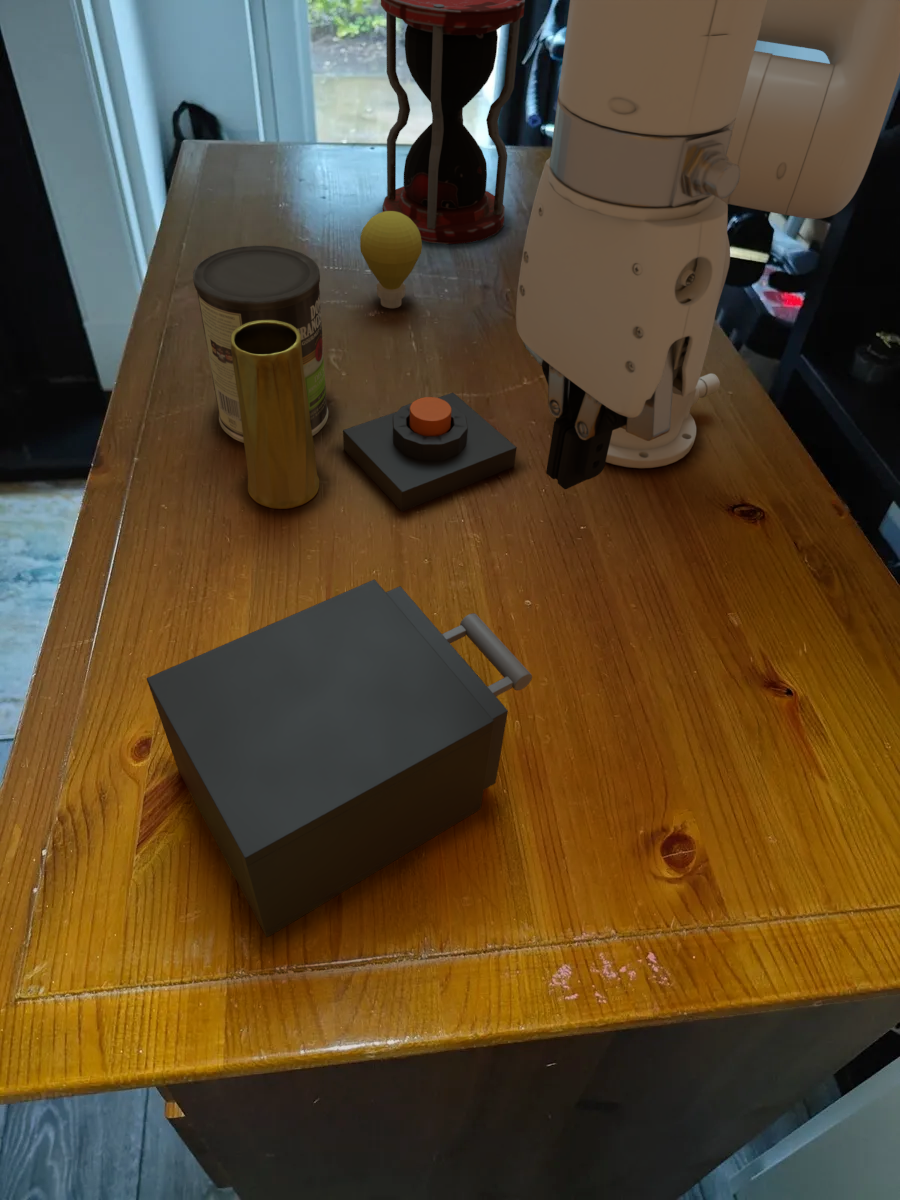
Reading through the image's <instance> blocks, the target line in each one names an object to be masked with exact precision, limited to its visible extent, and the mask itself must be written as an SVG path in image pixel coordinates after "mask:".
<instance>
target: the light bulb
mask: <svg viewBox="0 0 900 1200" xmlns="http://www.w3.org/2000/svg"><path fill="white" fill-rule="evenodd" d="M359 238H360V239H359V248H360V253H361V255H362V257H363V259H364V260H365V263H366V265H367V267H368V268H369V270H370V271H371V273H372V275H373V276H374V277H375V278H376V280H377V284H376V295H377V297H378V298H379V299H380V305H381V306H382V307H384V308H387V309H396V308H399V307H401V306H402V301H403V300H402V299H403V298H404V297H405V296H406V284H405V283H404V282H405V281H406V279H407V278H408V277H409V275H410V274H411V273H412V271H413V270H414V268H415V266H416V265H417V263H418V260H419V258H420V256H421V254H422V253H423V252H422V251H423V241H421V235H420V232H419V230H418V228H417V226H416V225H415V224H414V222H413V221H412V220H411V219H410V218H409V217H407V216H406V215H404V214H402V213H399V212H395V211H385V212H383V211H381V212H378V213H377V214H375V215H373V216H372V217H370V219H368V221H367V222H366V224H365V225H364V226H363V228H362V231H361V233H360V237H359Z"/></svg>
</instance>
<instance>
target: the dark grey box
mask: <svg viewBox="0 0 900 1200" xmlns="http://www.w3.org/2000/svg"><path fill="white" fill-rule="evenodd" d="M386 592H387V591H385V589H383V587H382V586H381V585H380V583H379V582H378V581H377V580H376V579H371V580H370V581H367V582H365V583H362V584H360V585H357V586H356V587H353V588H350V589H349V590H346V591H344V592H341V593H340V594H337V595H335V596H332V597H331V598H328V599H325V600H324V601H321V602H319V603H317V604H313V605H312V606H310V607H307V608H305V609H303V610H300V611H298V612H296V613H293V614H291V615H288V616H286V617H284V618H282V619H279V620H277V621H275V622H273V623H270V624H268V625H266V626H264V627H261V628H259V629H256V630H254V631H251V632H249V633H247V634H245V635H242V636H240V637H238V638H236V639H234V640H231V641H229V642H227V643H224V644H222V645H219V646H217V647H215V648H213V649H211V650H208V651H206V652H203V653H201V654H199V655H197V656H196V655H195V656H193V657H192V658H190V659H187V660H185V661H183V662H181V663H178V664H176V665H173V666H171V667H168V668H166V669H164V670H162V671H160V672H158V673H155V674H153V675H150V676H148V677H146V681H147V684H148V687H149V691H150V693H151V696H152V699H153V701H154V705H155V707H156V710H157V713H158V716H159V719H160V722H161V725H162V727H163V731H164V733H165V736H166V739H167V742H168V745H169V748H170V750H171V754H172V756H173V759H174V762H175V765H176V767H177V770H178V773H179V775H180V777H181V779H182V781H183V782H184V784H185V786H186V788H187V790H188V792H189V793H190V795H191V797H192V799H193V801H194V803H195V805H196V807H197V809H198V811H199V812H200V814H201V817H202V818H203V820H204V822H205V824H206V826H207V828H208V830H209V831H210V833H211V835H212V837H213V839H214V841H215V843H216V845H217V846H218V849H219V850H220V852H221V854H222V856H223V858H224V860H225V861H226V864H227V865H228V868H229V869H230V871H231V873H232V875H233V877H234V879H235V881H236V882H237V884H238V887H239V888H240V890H241V892H242V894H243V896H244V897H245V899H246V901H247V903H248V905H249V907H250V909H251V911H252V913H253V914H254V916H255V918H256V920H257V922H258V924H259V926H260V928H261V929H262V931H263V933H264V935H265V937H266V938H269V937H270V936H273V935H274V934H275V933H277V932H279V931H281V930H282V929H284V928H285V927H287V926H289V925H290V924H292V923H294V922H295V921H297V920H298V919H300V918H302V917H303V916H305V915H307V914H309V913H310V912H312V911H314V910H315V909H317V908H318V907H320V906H322V905H324V904H325V903H327V902H329V901H330V900H332V899H333V898H335V897H338V896H339V895H341V894H342V893H343V892H345V891H347V890H349V889H350V888H352V887H353V886H355V885H357V884H359V883H360V882H362V881H363V880H365V879H367V878H368V877H370V876H372V875H374V874H376V872H377V873H378V871H380V870H382V869H383V868H386V866H389V865H391V864H392V863H393V862H396V861H397V860H399V859H400V858H403V856H405V855H407V854H408V853H410V852H412V851H414V850H415V849H417V848H419V847H420V846H422V845H423V844H425V843H427V842H429V841H430V840H432V839H433V838H435V837H437V836H438V835H440V834H441V833H444V832H445V831H446V830H448V829H450V828H451V827H453V826H455V825H457V824H458V823H460V822H461V821H463V820H465V819H467V818H469V817H470V816H472V815H473V814H475V813H476V812H478V811H480V810H481V808H482V802H483V797H484V791H485V790H484V783H485V777H486V771H487V764H488V758H489V751H490V745H491V738H492V732H493V725H494V720H493V719H492V718H491V716H490V715H489V714H488V713H487V712H486V711H485V709H484V708H483V707H482V706H481V705H480V703H479V702H478V701H477V700H476V699H475V698H474V696H473V695H472V694H471V693H470V692H469V690H468V689H467V688H466V687H465V686H464V684H463V683H462V682H461V681H460V680H459V679H458V677H457V676H456V675H455V674H454V673H453V671H452V670H451V669H450V668H449V667H448V666H447V664H446V663H445V662H444V661H443V660H442V658H441V657H440V656H439V655H438V654H437V652H436V651H435V650H434V649H433V648H432V647H431V645H430V644H429V643H428V642H427V641H426V639H425V638H424V637H423V636H422V635H421V634H420V632H419V631H418V630H417V629H416V628H415V626H414V625H413V624H412V623H411V622H410V621H409V619H408V618H407V617H406V616H405V615H404V613H403V612H402V611H401V610H400V609H399V607H398V606H397V605H396V604H395V603H394V602H393V600H392V599H391V598H390V597H389V596H388V594H387V593H386Z"/></svg>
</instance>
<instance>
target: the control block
mask: <svg viewBox="0 0 900 1200" xmlns="http://www.w3.org/2000/svg"><path fill="white" fill-rule="evenodd" d="M437 398H439V399H442V400H444V401H446V402H447V403H448V404H449V405H450V407H451V426H450V429H449V431H448V432H447V433H445V434H442V435H439V436H423V435H420V434H417V433H414V432H413V431H412V430H411V428H410V406H411V404H412V403H413V402H411V403H408V404H404V405H402V406H401V407H400V408H399V409H398V410H397V411H395V412H392V413H388V414H386V415H383V416H380V417H377V418H375V419H371V420H369V421H365V422H362V423H360V424H356V425H354V426H351V427H348V428H345V429H343V430H342V442H343V451H344V452H345V453H346V454H347V455H348V456H349V457H350V458H351V459H352V460H353V461H354V462H355V463H356V465H357V466H358V467H359V468H360V469H361V470H362V471H363V472H364V473H365V474H366V475H367V476H368V477H369V478H370V480H371V481H372V482H374V484H376V486H377V487H378V488H379V489H380V490H381V491H382V492H383V493H384V494H385V495H386V496H387V497H388V499H389V500H390V501H391V502H392V503H393V504H394V505H395V506H396V507H397V508H398V510H399V511H401V512H405V511H407V510H410V509H413V508H414V507H418V506H420V505H422V504H425V503H427V502H429V501H433V500H435V499H437V498H439V497H443V496H444V495H447V494H449V493H452V492H455V491H457V490H459V489H462V488H465V487H467V486H469V485H472V484H474V483H477V482H480V481H482V480H484V479H488V478H489V477H492V476H495V475H497V474H500V473H502V472H504V471H506V470H510V469H511V468H515V464H516V463H515V462H516V456H517V446H516V445H515V444H513V443H512V442H511V441H510V440H509V439H507V438H506V436H504V435H503V434H502V433H501V432H500V431H499V430H497V428H495V427H494V426H493V425H492V424H491V423H489V422H488V421H487V420H486V419H484V418H483V416H481V415H480V413H477V411H476V410H474V409H473V408H472V407H471V406H469V405H468V404H467V403H466V402H465V401H464V400H463V399H462V398H460V397H459V396H458V395H457V394H456V393H455V392H450V393H448V394H444V395H441V396H438V397H437Z"/></svg>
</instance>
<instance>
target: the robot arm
mask: <svg viewBox="0 0 900 1200" xmlns="http://www.w3.org/2000/svg"><path fill="white" fill-rule="evenodd" d="M567 14H568V15H567V23H566V30H565V38H564V46H563V56H562V63H561V70H560V71H561V72H560V79H559V88H558V94H557V100H556V109H555V116H554V117H555V118H554V126H553V134H552V141H551V151H550V157H549V158H548V159H546V161H545V163H544V166H543V169H542V173H541V175H540V179H539V181H538V185H537V189H536V193H535V196H534V200H533V203H532V208H531V212H530V216H529V220H528V223H527V230H526V234H525V240H524V244H523V250H522V255H521V262H520V268H519V276H518V284H517V290H516V291H517V293H516V303H515V304H516V305H515V325H516V332H517V334H518V336H519V338H520V339H521V340H522V342H523V343H522V344H523V346H524V348H525V350H526V351H527V352H528V353H529V354H530V356H532V358H533V359H534V360H535V361H536V362H537V364H539V366H540V367H541V370H542V373H543V375H544V379H545V381H546V384H547V387H548V388H547V408H548V412H549V413H550V415H551V416H552V417H553V418H554V419H555V421H553V428H552V434H551V440H550V445H549V451H548V457H547V465H546V469H545V470H546V471H545V473H546V475H547V476H548V477H550V478H551V480H556V481H557V484H558V485H559V486H560V487H561V488H562V489H563V490H567V489H568V490H569V489H570V488H572V487H574V486H577V485H579V484H580V483H582V482H585V481H587V480H591V479H593V478H595V477H597V476H599V475H600V474H601V473H602V472H603V470H604V469H605V466H606V463H608V464H611V465H615V466H618V467H624V468H631V469H632V468H633V469H653V468H660V467H665V466H668V465H671V464H673V463H676V462H678V461H680V460H682V459H683V458H684V457H686V456H687V454H689V453H690V451H691V449H692V447H693V446H694V443H695V441H696V437H697V424H696V421H695V419H694V417H693V416H692V414H691V413H690V412H691V409H692V406H694V405H695V404H697V403H698V402H699V400H700V399H702V398H706V397H708V396H710V395H713V394H715V393H717V392H718V391H719V389H720V387H721V382H720V379H719V377H718V376H717V375H716V374H715V373H712V372H711V373H707V374H705V375H702V376H701V374H702V371H703V368H704V363H705V360H706V357H707V354H708V350H709V345H710V342H711V336H712V333H713V329H714V324H715V318H716V315H717V308H718V306H719V304H720V303H719V302H720V300H721V295H722V293H723V289H724V286H725V283H726V280H727V277H728V272H729V268H730V264H731V263H730V262H731V246H730V245H731V244H730V240H729V235H728V221H729V219H728V218H729V217H728V216H729V214H728V211H729V206H728V205H732V206H736V207H737V206H738V207H742V208H747V209H752V210H758V211H762V212H768V213H773V214H778V215H783V216H789V217H794V218H795V217H796V218H801V219H802V218H803V219H807V220H808V219H809V220H819V219H825V218H830V217H833V216H835V215H837V214H838V213H840V212H841V211H842V210H843V209H844V208H846V206H847V205H849V203H850V202H851V200H852V199H853V198H854V196H855V195H856V193H857V191H858V190H859V188H860V185H861V184H862V181H863V179H864V177H865V175H866V172H867V171H868V168H869V165H870V163H871V160H872V157H873V155H874V154H873V153H874V151H875V148H876V145H877V143H878V140H879V137H880V135H881V131H882V128H883V125H884V122H885V119H886V117H887V113H888V110H889V107H890V103H891V101H892V98H893V94H894V92H895V89H896V86H897V83H898V79H899V78H900V77H899V76H900V0H569V6H568V13H567ZM758 41H759V42H765V43H772V44H778V45H785V46H791V47H797V48H805V49H808V50H809V49H811V50H817V51H820V52H823V53H824V54H825V56H826V57H827V59H828V62H829V63H828V62H821V61H816V60H815V61H814V60H808V59H802V58H796V57H788V56H783V55H776V54H773V53H770V52H765V51H757V50H755V49H756V47H757V42H758Z"/></svg>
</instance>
